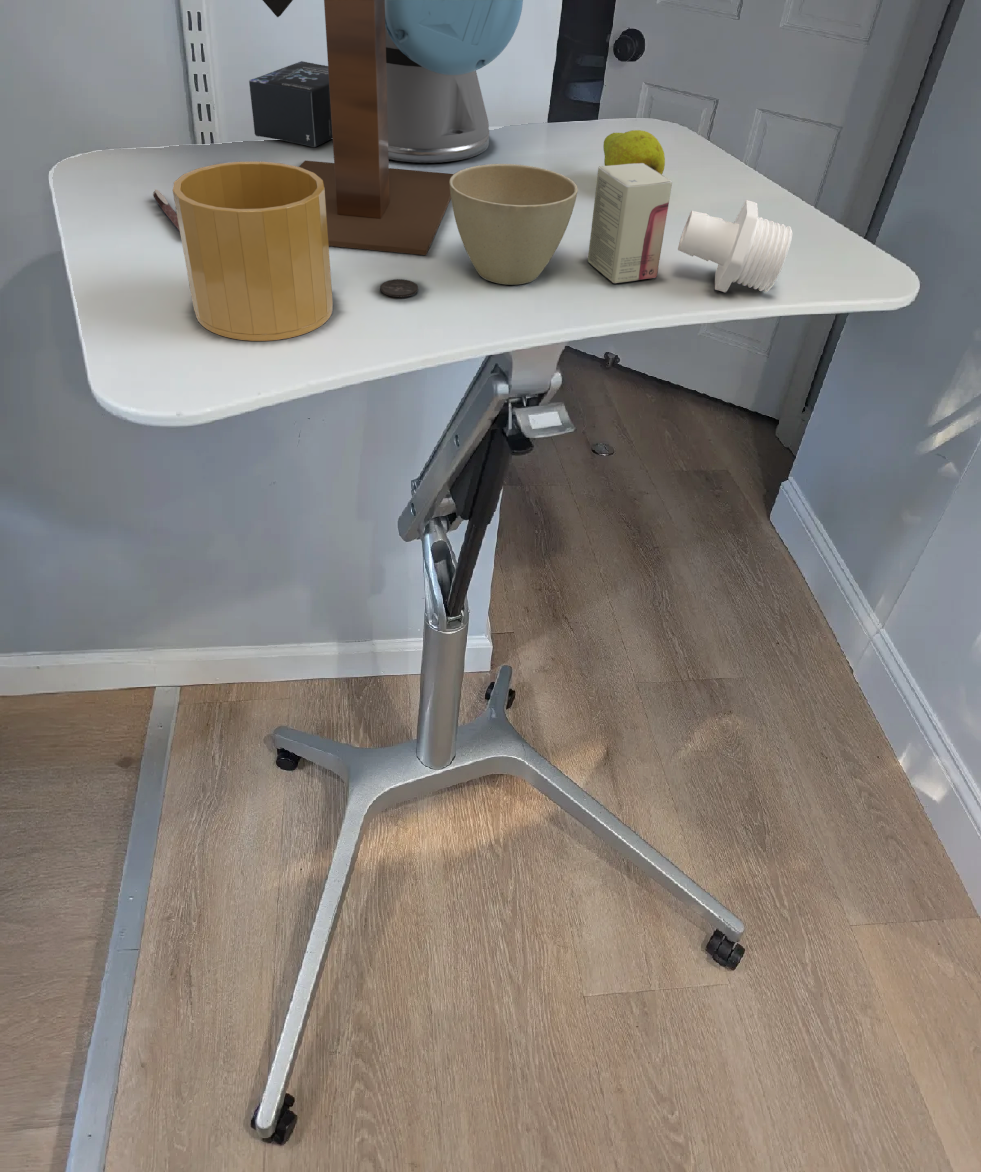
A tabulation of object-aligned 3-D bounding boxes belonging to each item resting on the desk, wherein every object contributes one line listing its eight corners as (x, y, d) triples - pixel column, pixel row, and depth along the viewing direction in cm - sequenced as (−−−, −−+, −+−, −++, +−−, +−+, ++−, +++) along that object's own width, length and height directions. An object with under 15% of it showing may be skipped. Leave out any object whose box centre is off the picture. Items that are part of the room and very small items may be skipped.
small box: (658, 279, 75) (675, 181, 70) (612, 285, 74) (627, 185, 68) (629, 256, 78) (643, 160, 73) (585, 261, 77) (596, 164, 72)
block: (347, 199, 84) (334, -32, 72) (389, 203, 84) (384, -28, 72) (337, 214, 81) (322, -24, 69) (380, 219, 81) (373, -20, 69)
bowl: (591, 286, 73) (603, 195, 68) (484, 307, 69) (489, 213, 65) (528, 242, 80) (534, 156, 75) (427, 259, 76) (427, 170, 71)
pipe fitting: (672, 252, 77) (760, 280, 77) (668, 284, 72) (763, 314, 72) (700, 178, 73) (794, 207, 73) (698, 205, 68) (799, 237, 68)
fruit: (612, 190, 87) (562, 154, 95) (657, 211, 90) (605, 175, 98) (642, 129, 84) (588, 98, 92) (687, 153, 87) (631, 121, 95)
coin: (409, 300, 69) (423, 284, 72) (409, 297, 69) (423, 282, 71) (374, 294, 70) (389, 278, 72) (373, 291, 70) (388, 276, 72)
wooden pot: (222, 276, 71) (203, 155, 65) (346, 288, 71) (339, 168, 65) (174, 333, 64) (149, 203, 58) (313, 347, 63) (301, 217, 57)
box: (361, 69, 100) (311, 91, 92) (363, 124, 104) (315, 150, 96) (300, 59, 102) (246, 79, 94) (304, 113, 106) (253, 137, 98)
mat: (305, 165, 92) (304, 160, 92) (459, 179, 91) (459, 174, 91) (242, 237, 77) (241, 232, 77) (426, 255, 76) (426, 249, 76)
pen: (151, 197, 83) (149, 186, 82) (160, 197, 83) (158, 185, 82) (185, 242, 75) (182, 230, 75) (194, 240, 76) (192, 228, 75)
